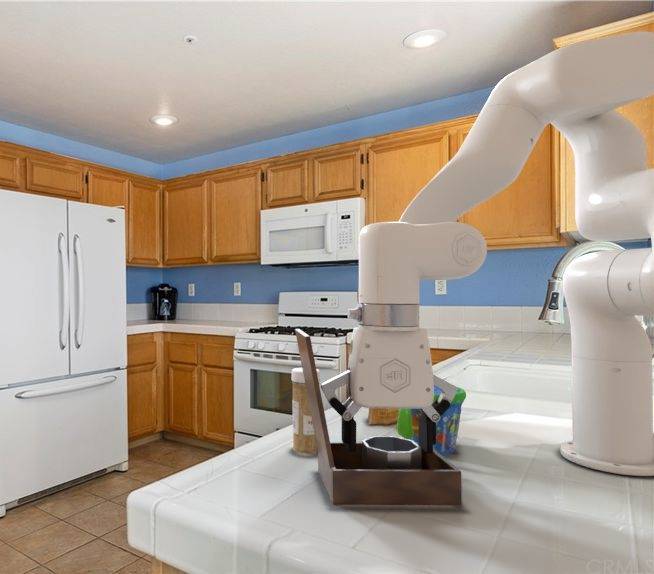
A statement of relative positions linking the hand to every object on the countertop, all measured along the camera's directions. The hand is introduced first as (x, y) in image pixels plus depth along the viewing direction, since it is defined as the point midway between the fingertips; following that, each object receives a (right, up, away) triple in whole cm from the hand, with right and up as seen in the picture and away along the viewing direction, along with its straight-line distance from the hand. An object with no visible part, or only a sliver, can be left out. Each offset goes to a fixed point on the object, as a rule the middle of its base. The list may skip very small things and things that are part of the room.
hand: (388, 449), depth 64 cm
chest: (-1, -5, 0) cm, 5 cm away
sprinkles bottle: (-8, -6, +15) cm, 18 cm away
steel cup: (0, -5, 0) cm, 5 cm away
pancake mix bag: (+13, -6, +36) cm, 39 cm away
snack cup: (+12, -6, +16) cm, 20 cm away
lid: (-9, +7, 0) cm, 12 cm away
